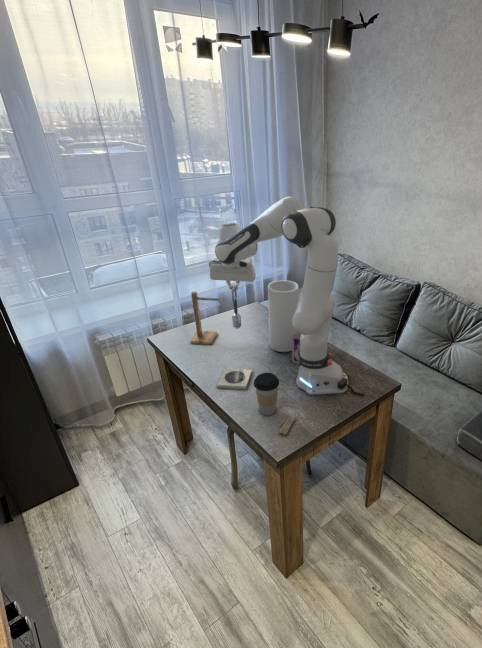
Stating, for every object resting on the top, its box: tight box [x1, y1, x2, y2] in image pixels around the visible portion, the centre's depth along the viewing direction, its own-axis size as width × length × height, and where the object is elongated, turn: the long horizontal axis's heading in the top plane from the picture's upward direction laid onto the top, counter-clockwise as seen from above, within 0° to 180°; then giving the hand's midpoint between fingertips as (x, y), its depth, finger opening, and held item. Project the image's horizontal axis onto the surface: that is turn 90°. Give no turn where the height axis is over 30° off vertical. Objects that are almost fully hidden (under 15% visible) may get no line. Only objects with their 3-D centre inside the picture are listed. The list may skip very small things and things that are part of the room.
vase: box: [267, 279, 300, 353], centre depth 187 cm, size 14×14×32 cm
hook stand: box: [190, 291, 222, 345], centre depth 191 cm, size 15×10×25 cm, turn 88°
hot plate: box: [216, 368, 253, 390], centre depth 169 cm, size 12×12×2 cm
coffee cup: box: [253, 372, 280, 416], centre depth 150 cm, size 9×9×15 cm
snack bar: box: [278, 416, 297, 436], centre depth 146 cm, size 10×2×3 cm
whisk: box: [231, 284, 242, 330], centre depth 188 cm, size 4×6×21 cm
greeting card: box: [291, 333, 301, 365], centre depth 179 cm, size 11×7×15 cm, turn 66°
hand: (233, 289), depth 183 cm, fingers closed on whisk
